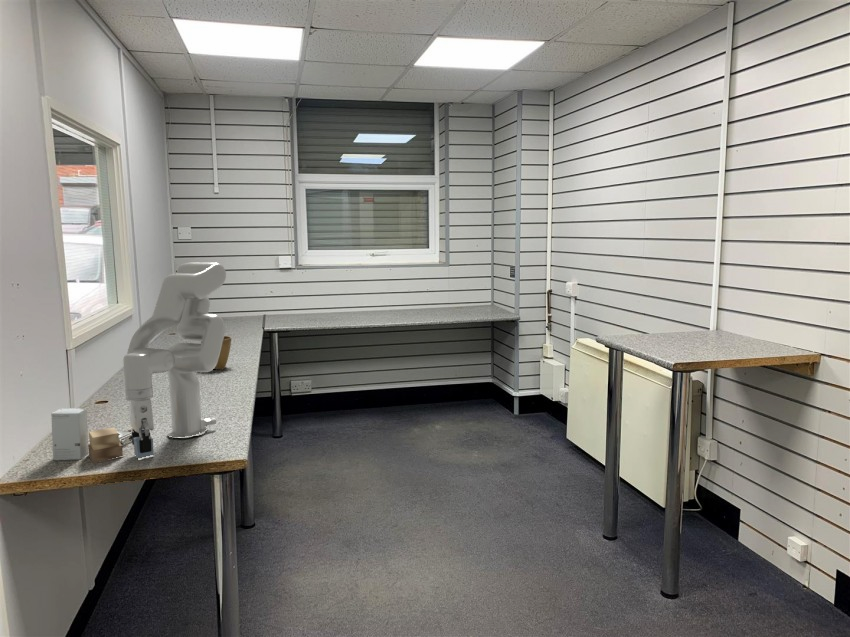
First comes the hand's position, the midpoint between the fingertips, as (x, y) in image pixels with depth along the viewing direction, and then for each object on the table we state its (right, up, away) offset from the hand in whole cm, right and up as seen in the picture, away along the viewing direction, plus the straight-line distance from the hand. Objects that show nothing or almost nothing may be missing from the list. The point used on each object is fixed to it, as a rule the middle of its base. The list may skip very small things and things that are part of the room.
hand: (141, 448), depth 182 cm
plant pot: (-20, +14, +124) cm, 126 cm away
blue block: (0, -3, +1) cm, 3 cm away
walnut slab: (-12, -3, +2) cm, 13 cm away
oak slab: (-12, +1, +1) cm, 12 cm away
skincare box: (-22, -3, +2) cm, 23 cm away
